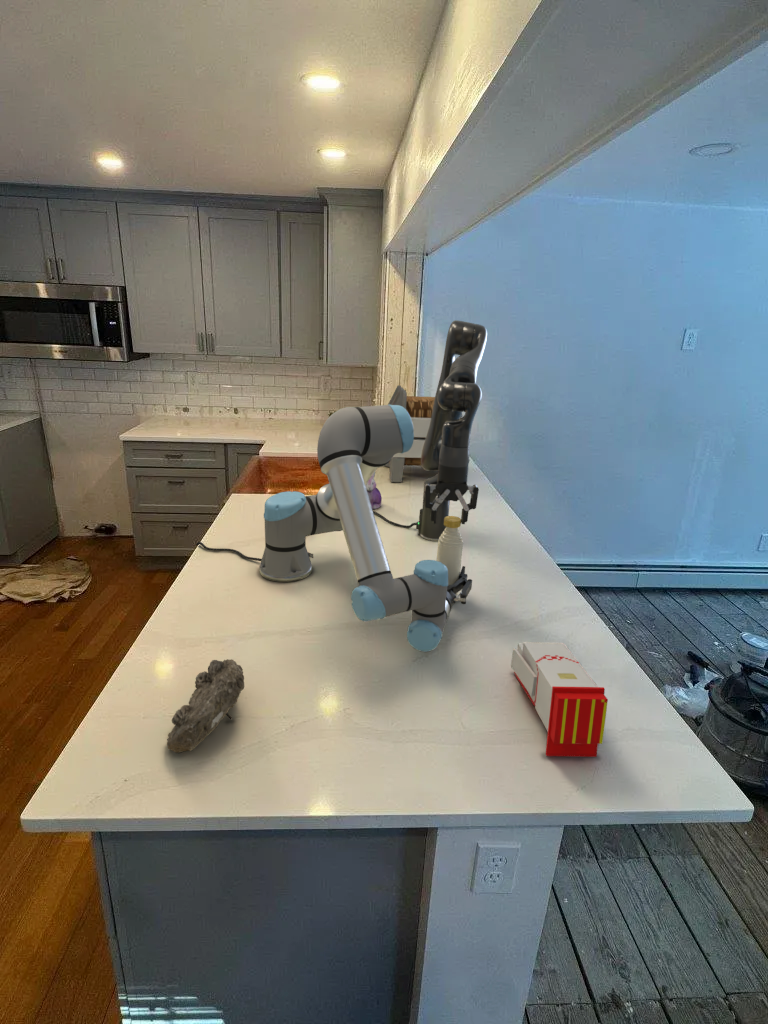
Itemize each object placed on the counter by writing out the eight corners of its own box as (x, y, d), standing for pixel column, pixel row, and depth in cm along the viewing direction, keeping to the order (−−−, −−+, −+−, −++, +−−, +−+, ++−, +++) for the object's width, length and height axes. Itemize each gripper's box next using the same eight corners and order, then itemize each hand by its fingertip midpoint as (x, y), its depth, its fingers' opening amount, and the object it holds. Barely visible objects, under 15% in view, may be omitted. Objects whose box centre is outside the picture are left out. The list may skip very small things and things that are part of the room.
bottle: (455, 592, 160) (463, 516, 152) (459, 604, 154) (467, 525, 146) (432, 591, 160) (438, 515, 152) (434, 603, 154) (441, 525, 146)
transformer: (382, 463, 289) (386, 382, 275) (445, 464, 293) (451, 384, 279) (390, 482, 257) (394, 392, 243) (460, 483, 261) (468, 394, 247)
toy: (559, 625, 127) (617, 695, 97) (554, 680, 130) (608, 764, 100) (506, 624, 126) (547, 694, 97) (501, 679, 129) (540, 763, 100)
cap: (443, 527, 148) (443, 521, 147) (444, 521, 152) (444, 515, 151) (460, 528, 147) (461, 522, 147) (460, 522, 151) (461, 516, 151)
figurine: (365, 511, 219) (366, 474, 214) (354, 503, 228) (355, 467, 223) (387, 509, 223) (388, 472, 218) (375, 501, 232) (377, 465, 227)
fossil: (192, 660, 117) (244, 628, 112) (224, 691, 120) (276, 661, 115) (142, 746, 98) (202, 712, 93) (182, 779, 101) (242, 748, 96)
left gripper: (395, 613, 142) (415, 575, 163) (473, 627, 137) (484, 586, 158) (396, 586, 139) (417, 551, 160) (477, 600, 135) (486, 561, 156)
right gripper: (478, 459, 148) (472, 518, 153) (424, 457, 147) (419, 517, 153) (484, 467, 141) (478, 529, 146) (427, 465, 140) (422, 527, 145)
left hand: (450, 568), depth 159 cm, fingers closed on bottle, 7 cm apart
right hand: (448, 522), depth 149 cm, fingers open, 7 cm apart
